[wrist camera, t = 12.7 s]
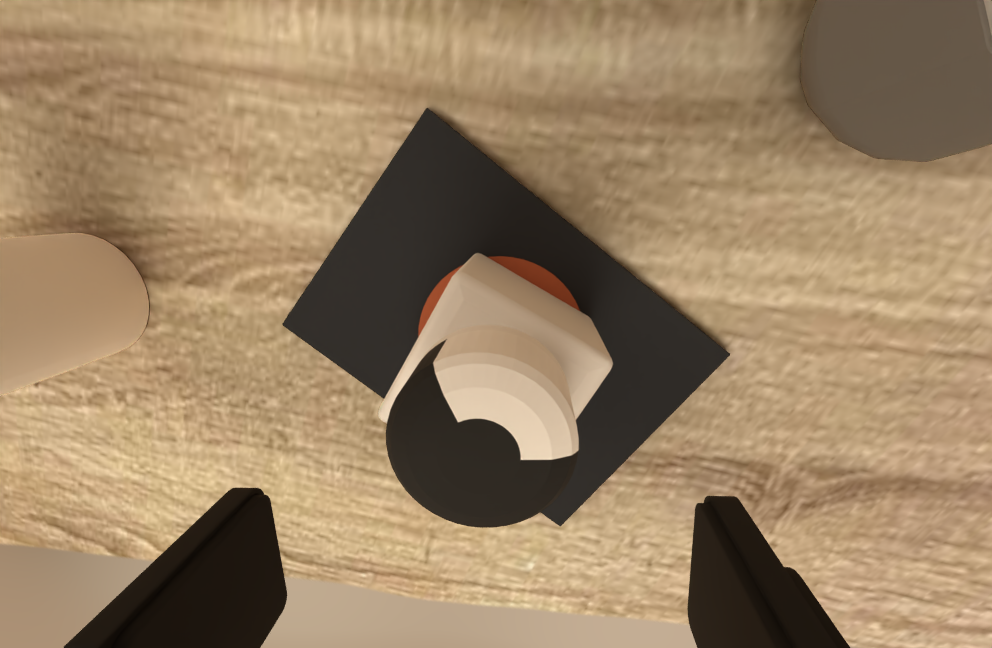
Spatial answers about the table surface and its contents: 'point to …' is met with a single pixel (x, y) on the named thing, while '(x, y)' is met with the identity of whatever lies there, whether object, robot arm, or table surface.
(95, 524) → the table surface
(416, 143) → the mat
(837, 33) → the cup
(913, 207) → the table surface
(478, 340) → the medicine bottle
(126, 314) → the cylindrical container
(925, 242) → the table surface
